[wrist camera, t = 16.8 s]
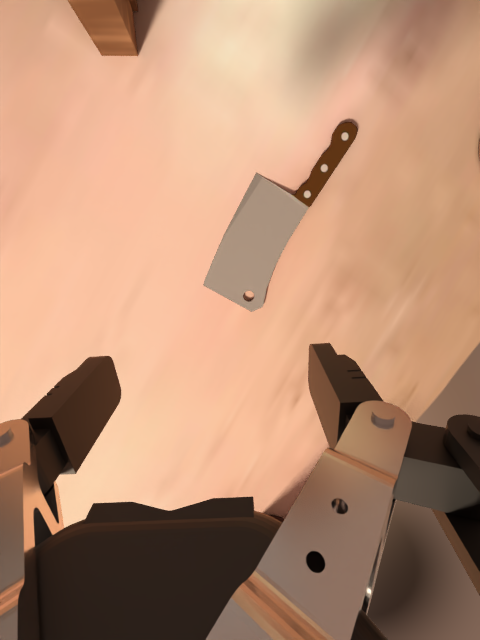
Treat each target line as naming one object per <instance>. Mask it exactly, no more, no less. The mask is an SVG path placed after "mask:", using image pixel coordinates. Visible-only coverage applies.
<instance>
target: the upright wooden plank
mask: <svg viewBox="0 0 480 640" xmlns="http://www.w3.org/2000/svg"><path fill="white" fill-rule="evenodd" d="M68 2H69V3H70V5H71V7H72V8H73V10H74V11H75V13H76V15H77V16H78V18H79V20H80V21H81V23H82V24H83V26H84V28H85V29H86V31H87V32H88V34H89V36H90V37H91V39H92V40H93V42H94V44H95V45H96V47H97V48H98V50H99V52H100V53H101V55H102V56H138V52H137V43H136V34H135V26H134V17H133V11H138V6H137V0H68Z"/></svg>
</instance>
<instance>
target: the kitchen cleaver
mask: <svg viewBox="0 0 480 640" xmlns="http://www.w3.org/2000/svg"><path fill="white" fill-rule="evenodd" d="M356 135H357V127H356V126H355V125H354V124H353V123H352V122H345V123H342V124H340V125H338V126H337V128H336V129H335V131H334V132H333V134H332V139H331V145H330V146H329V148H328V149H327V151H326V152H325V153H324V154H322V155H321V157H320V158H319V160H318V162H317V163H316V165H315V166H314V168H313V169H312V171H311V174H310V177H309V179H308V180H307V182H306V183H305V184H304V185H302V186H301V187H299V189H298V190H297V192H296V193H295V195H291V194H290V193H288V192H286V191H285V190H283V189H282V188H280V187H278V186H277V185H275V184H273V183H272V182H270V181H269V180H267V179H265V178H264V177H262V176H261V175H259V174H258V173H257V172H256V174H255V176H254V178H253V180H252V182H251V184H250V186H249V188H248V190H247V191H246V193H245V195H244V197H243V199H242V201H241V203H240V205H239V207H238V209H237V211H236V213H235V215H234V217H233V219H232V220H231V222H230V224H229V226H228V228H227V230H226V232H225V234H224V236H223V239H222V241H221V243H220V245H219V248H218V250H217V252H216V254H215V257H214V259H213V261H212V264H211V266H210V269H209V271H208V274H207V276H206V278H205V281H204V284H203V285H204V286H206V287H207V288H209V289H211V290H213V291H215V292H216V293H218V294H220V295H222V296H224V297H226V298H227V299H229V300H231V301H233V302H235V303H237V304H238V305H240V306H242V307H244V308H246V309H247V310H249V311H251V312H252V311H255V310H257V309H259V308H261V307H263V304H264V299H265V294H266V289H267V286H268V284H269V281H270V278H271V276H272V273H273V271H274V268H275V266H276V263H277V261H278V259H279V257H280V256H281V254H282V252H283V250H284V248H285V246H286V244H287V242H288V240H289V239H290V237H291V236H292V234H293V232H294V231H295V229H296V228H297V226H298V224H299V223H300V221H301V219H302V218H303V216H304V215H305V213H306V211H307V210H308V208H309V207H310V206H311V205H312V203H313V202H314V200H315V199H316V197H317V196H318V194H319V193H320V191H321V190H322V188H323V187H324V185H325V184H326V182H327V180H328V179H329V177H330V176H331V174H332V173H333V171H334V170H335V168H336V167H337V165H338V164H339V162H340V161H341V159H342V158H343V156H344V155H345V153H346V152H347V150H348V149H349V147H350V146H351V144H352V143H353V141H354V140H355V138H356ZM246 291H252V292H253V293H254V298H253V299H252V300H251V301H246V300H245V299H244V298H243V295H244V293H245V292H246Z"/></svg>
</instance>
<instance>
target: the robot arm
mask: <svg viewBox="0 0 480 640" xmlns="http://www.w3.org/2000/svg"><path fill="white" fill-rule="evenodd" d="M479 159H480V141H479ZM308 382H309V389H310V393H311V396H312V399H313V402H314V405H315V408H316V410H317V413H318V416H319V419H320V422H321V424H322V427H323V430H324V433H325V436H326V438H327V441H328V444H329V447H330V448H327V449H326V450H325V451H324V452H323V454H322V456H321V457H320V459H319V461H318V463H317V464H316V466H315V468H314V469H313V471H312V473H311V475H310V476H309V478H308V480H307V481H306V483H305V485H304V487H303V488H302V490H301V492H300V494H299V495H298V497H297V499H296V500H295V502H294V504H293V506H292V507H291V509H290V511H289V512H288V514H287V516H286V518H285V519H284V521H283V523H282V522H281V521H279V520H277V519H275V518H273V517H271V516H269V515H266V514H264V513H261V512H257V511H254V502H253V497H236V498H213V499H210V500H206V501H203V502H200V503H196V504H193V505H190V506H186V507H183V508H179V509H176V510H172V511H167V510H162V509H158V508H154V507H150V506H146V505H142V504H138V503H134V502H117V503H94V504H93V505H92V507H91V509H90V511H89V513H88V515H87V517H86V519H85V520H82V521H79V522H77V523H74V524H72V525H70V526H68V527H66V528H64V524H63V517H62V510H61V504H60V497H59V490H58V486H57V484H56V481H55V480H56V479H57V477H58V476H59V475H60V474H76V472H77V471H78V469H79V468H80V466H81V464H82V463H83V461H84V459H85V458H86V456H87V455H88V453H89V451H90V450H91V448H92V446H93V445H94V443H95V442H96V440H97V438H98V437H99V435H100V433H101V432H102V430H103V428H104V427H105V425H106V424H107V422H108V420H109V419H110V417H111V415H112V414H113V412H114V411H115V409H116V407H117V406H118V404H119V402H120V399H121V387H120V384H119V380H118V377H117V373H116V370H115V366H114V363H113V360H112V358H111V357H110V356H99V357H89V358H87V359H86V360H85V361H84V362H83V363H82V364H81V365H80V366H79V367H78V368H77V369H76V370H75V371H73V372H72V373H70V374H68V375H67V376H65V377H64V378H62V379H61V380H60V381H59V382H58V383H57V384H56V385H55V386H54V388H52V389H51V390H50V391H49V392H48V393H47V396H44V397H43V398H42V399H41V400H40V401H39V402H38V403H37V404H36V405H35V406H34V407H33V408H32V409H31V410H30V411H29V412H28V413H27V414H26V415H25V416H24V417H23V418H22V419H17V420H10V421H7V422H4V423H1V424H0V640H388V639H387V638H386V637H385V636H384V634H383V633H382V632H381V631H380V630H379V629H378V627H377V626H376V625H375V624H374V623H373V622H372V620H371V619H370V618H369V617H368V616H367V612H368V608H369V605H370V601H371V597H372V593H373V589H374V585H375V581H376V577H377V572H378V568H379V564H380V560H381V556H382V552H383V548H384V544H385V540H386V537H387V533H388V529H389V525H390V521H391V518H392V514H393V510H394V506H395V503H396V500H400V501H404V502H408V503H412V504H416V505H419V506H423V507H427V508H431V509H432V511H433V512H434V514H435V516H436V518H437V520H438V521H439V523H440V525H441V527H442V528H443V530H444V532H445V534H446V536H447V538H448V539H449V541H450V543H451V545H452V546H453V548H454V550H455V552H456V554H457V556H458V557H459V559H460V561H461V563H462V565H463V566H464V568H465V570H466V572H467V574H468V576H469V577H470V579H471V581H472V583H473V584H474V586H475V588H476V590H477V592H478V593H479V595H480V417H477V416H473V415H456V416H453V417H451V418H450V419H449V420H448V422H447V426H446V428H443V427H437V426H431V425H425V424H420V423H416V422H412V421H411V419H410V417H409V416H408V415H407V414H406V413H405V412H404V411H403V410H402V409H400V408H399V407H397V406H395V405H393V404H390V403H387V402H384V401H383V400H382V398H381V397H380V396H379V394H378V393H377V391H376V390H375V389H374V387H373V386H372V384H371V383H370V382H369V380H368V379H367V378H366V376H365V375H364V373H363V372H362V371H361V369H360V367H359V366H358V365H357V363H356V362H355V361H354V360H352V359H351V358H349V357H348V356H346V355H337V354H336V352H335V350H334V349H333V347H332V346H331V344H330V343H321V344H310V346H309V370H308Z"/></svg>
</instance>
